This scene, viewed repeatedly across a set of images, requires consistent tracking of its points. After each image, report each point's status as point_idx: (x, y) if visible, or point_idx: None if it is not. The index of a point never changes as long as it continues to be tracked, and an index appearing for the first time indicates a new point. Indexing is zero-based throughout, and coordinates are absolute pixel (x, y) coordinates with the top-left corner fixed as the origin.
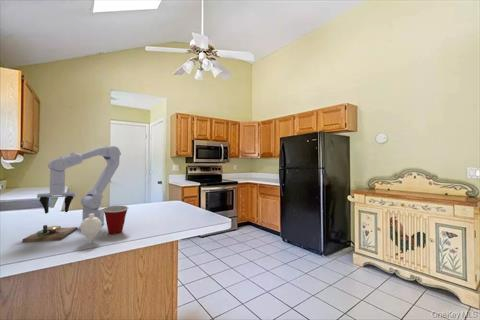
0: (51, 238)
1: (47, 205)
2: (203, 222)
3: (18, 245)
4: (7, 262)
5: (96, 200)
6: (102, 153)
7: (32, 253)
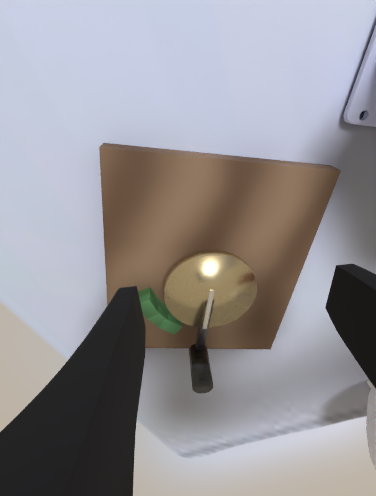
0: (230, 345)
1: (121, 397)
2: None
3: None
4: (179, 451)
5: None
6: None
7: (212, 422)
